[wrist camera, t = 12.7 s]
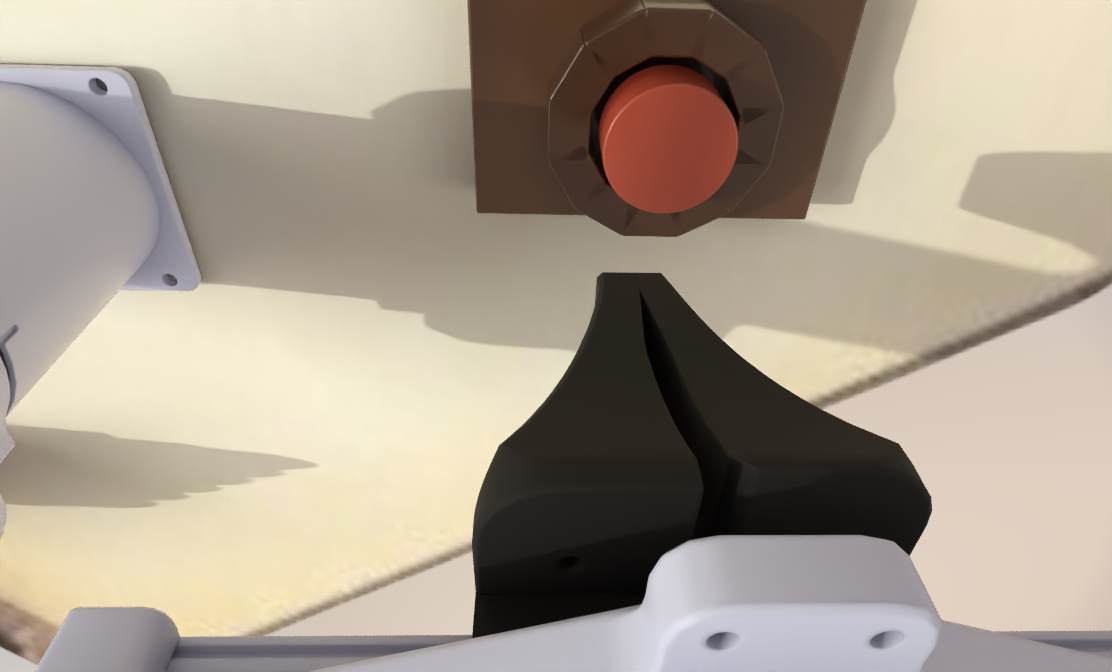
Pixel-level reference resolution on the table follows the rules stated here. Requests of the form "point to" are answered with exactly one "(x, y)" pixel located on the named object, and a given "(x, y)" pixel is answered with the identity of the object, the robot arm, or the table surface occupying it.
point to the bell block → (626, 48)
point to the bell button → (667, 139)
